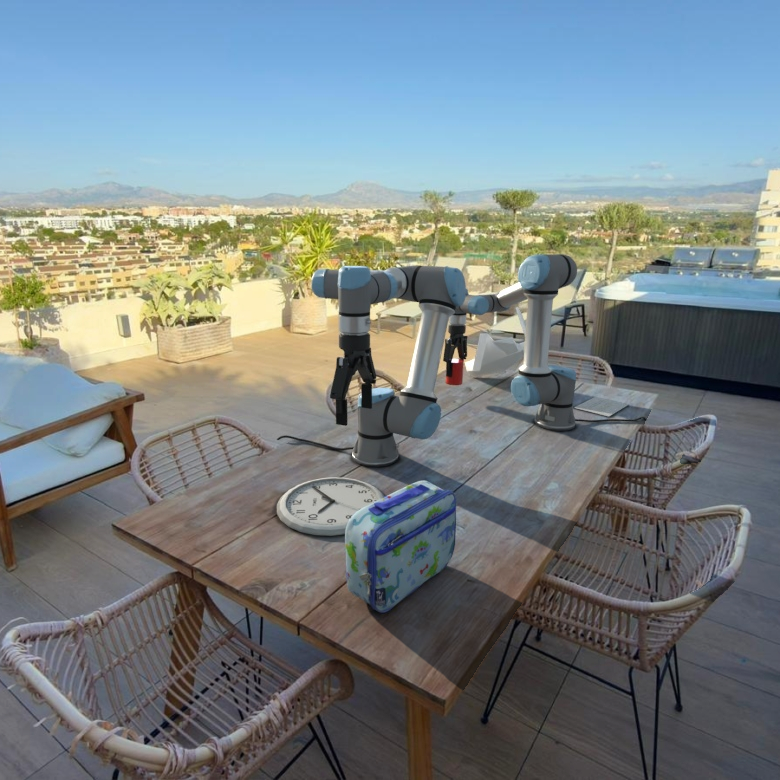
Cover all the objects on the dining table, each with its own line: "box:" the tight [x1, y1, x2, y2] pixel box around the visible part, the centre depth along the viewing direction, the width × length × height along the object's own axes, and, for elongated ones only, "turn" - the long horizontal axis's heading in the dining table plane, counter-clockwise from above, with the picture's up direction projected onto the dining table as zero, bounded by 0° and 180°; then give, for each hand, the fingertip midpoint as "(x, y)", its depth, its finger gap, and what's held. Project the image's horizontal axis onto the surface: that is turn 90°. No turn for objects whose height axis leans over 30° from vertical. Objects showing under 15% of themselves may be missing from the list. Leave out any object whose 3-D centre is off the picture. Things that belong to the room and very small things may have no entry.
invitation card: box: [573, 396, 629, 418], centre depth 226 cm, size 21×1×15 cm
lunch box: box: [344, 480, 457, 614], centre depth 109 cm, size 26×11×21 cm, turn 135°
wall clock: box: [276, 476, 386, 537], centre depth 142 cm, size 30×2×30 cm
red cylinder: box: [445, 358, 465, 386], centre depth 233 cm, size 8×8×10 cm
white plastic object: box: [464, 306, 526, 378], centre depth 260 cm, size 37×45×31 cm
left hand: (354, 415), depth 131 cm, fingers open, 13 cm apart
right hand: (454, 374), depth 234 cm, fingers closed on red cylinder, 7 cm apart
